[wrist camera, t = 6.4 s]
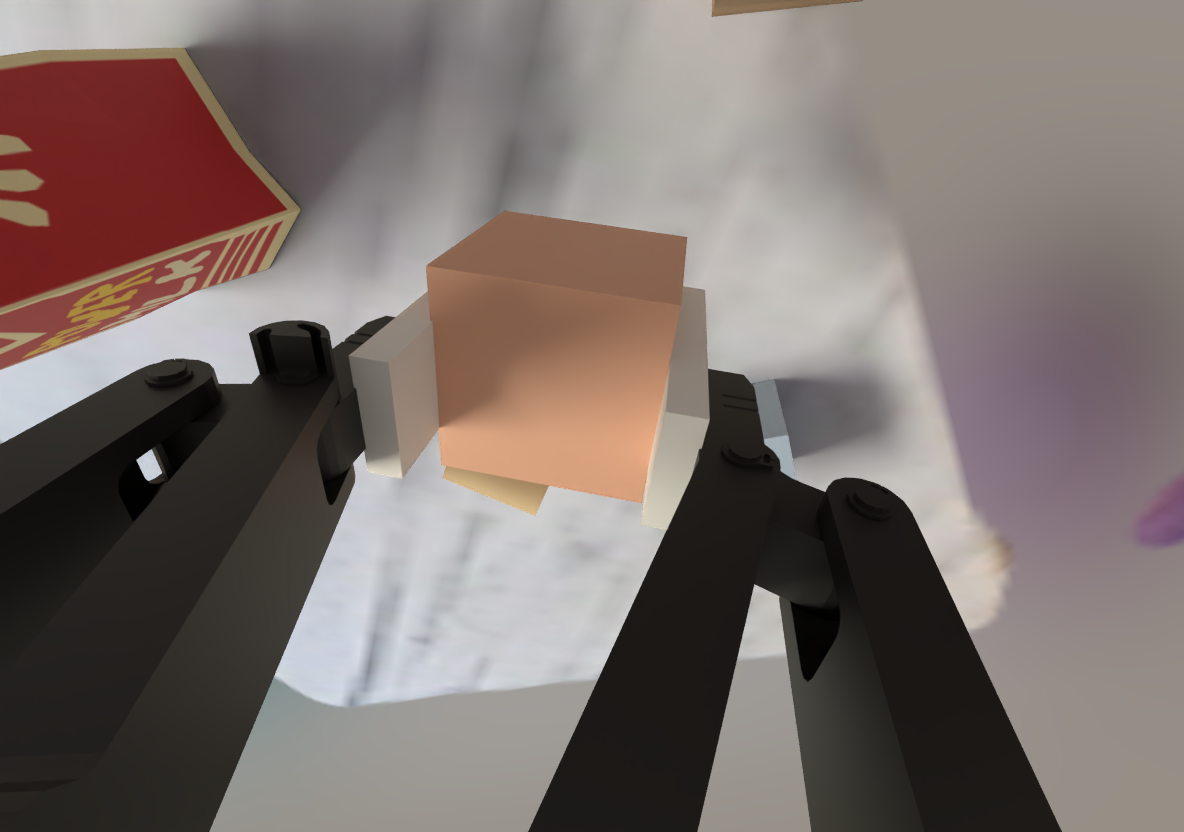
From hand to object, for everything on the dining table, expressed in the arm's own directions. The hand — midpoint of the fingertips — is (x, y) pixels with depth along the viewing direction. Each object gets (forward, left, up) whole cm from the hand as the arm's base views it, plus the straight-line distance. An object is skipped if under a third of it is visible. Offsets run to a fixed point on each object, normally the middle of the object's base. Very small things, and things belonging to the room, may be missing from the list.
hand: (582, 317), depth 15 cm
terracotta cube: (0, 0, 0) cm, 0 cm away
